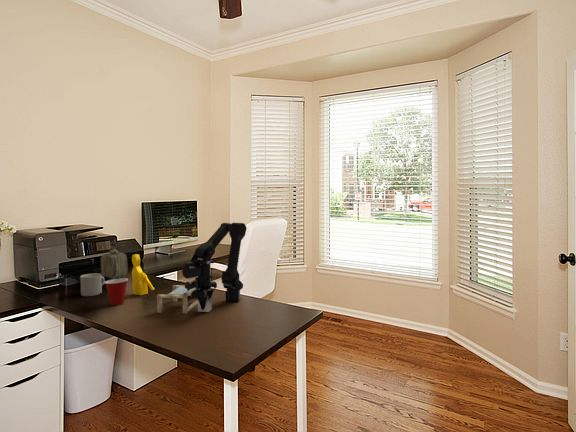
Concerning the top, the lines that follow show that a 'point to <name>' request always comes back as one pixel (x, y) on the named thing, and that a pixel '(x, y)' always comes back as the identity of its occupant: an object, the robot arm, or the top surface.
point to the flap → (180, 291)
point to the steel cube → (207, 307)
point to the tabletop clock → (114, 264)
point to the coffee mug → (91, 284)
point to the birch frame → (185, 301)
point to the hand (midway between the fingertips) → (204, 307)
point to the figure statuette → (139, 278)
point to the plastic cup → (116, 290)
